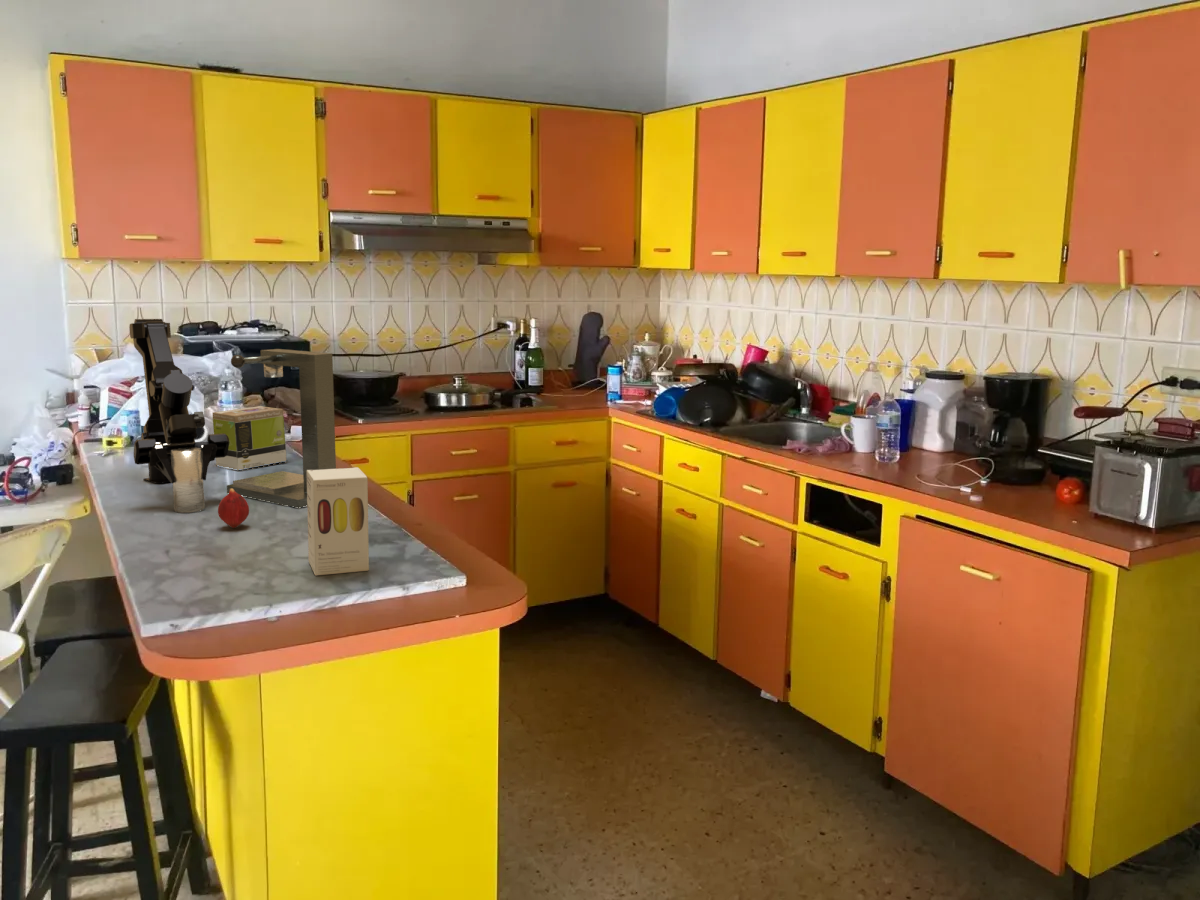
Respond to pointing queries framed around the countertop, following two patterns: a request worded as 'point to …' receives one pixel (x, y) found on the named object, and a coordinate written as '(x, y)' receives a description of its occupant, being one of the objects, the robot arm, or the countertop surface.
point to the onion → (233, 509)
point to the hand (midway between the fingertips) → (189, 480)
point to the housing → (187, 479)
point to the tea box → (251, 436)
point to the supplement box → (337, 520)
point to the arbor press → (313, 422)
